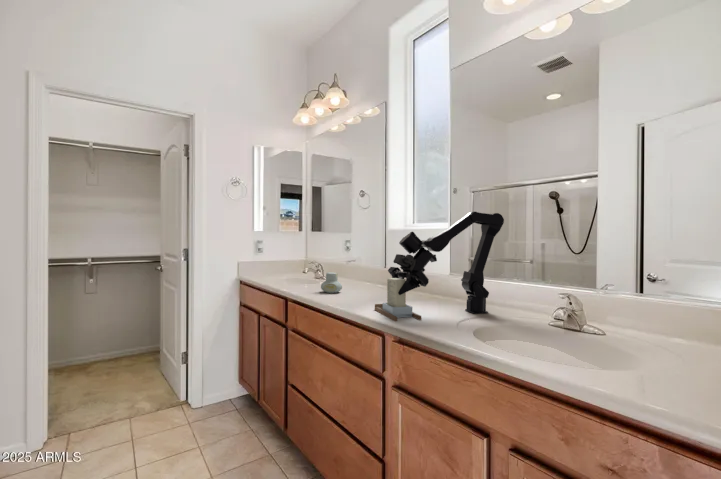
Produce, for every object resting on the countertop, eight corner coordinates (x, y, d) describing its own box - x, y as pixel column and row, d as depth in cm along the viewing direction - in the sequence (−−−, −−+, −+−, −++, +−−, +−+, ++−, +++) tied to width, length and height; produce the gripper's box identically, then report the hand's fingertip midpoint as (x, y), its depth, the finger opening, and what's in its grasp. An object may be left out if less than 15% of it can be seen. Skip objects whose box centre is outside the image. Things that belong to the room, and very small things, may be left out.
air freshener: (343, 291, 184) (343, 272, 184) (340, 294, 176) (341, 274, 176) (322, 290, 185) (323, 272, 185) (319, 293, 177) (319, 273, 177)
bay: (397, 309, 140) (397, 303, 140) (421, 320, 121) (421, 313, 121) (374, 310, 137) (374, 303, 137) (394, 321, 118) (395, 314, 118)
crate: (401, 311, 134) (401, 302, 134) (412, 316, 125) (412, 306, 125) (382, 312, 132) (382, 302, 132) (392, 317, 122) (392, 307, 122)
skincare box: (405, 313, 126) (406, 279, 126) (395, 314, 124) (396, 279, 124) (395, 309, 132) (396, 277, 132) (386, 310, 130) (386, 277, 130)
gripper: (392, 246, 138) (367, 274, 133) (423, 247, 122) (396, 280, 116) (408, 266, 142) (384, 294, 137) (439, 270, 126) (414, 302, 120)
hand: (393, 292), depth 127 cm, fingers closed on skincare box, 6 cm apart
